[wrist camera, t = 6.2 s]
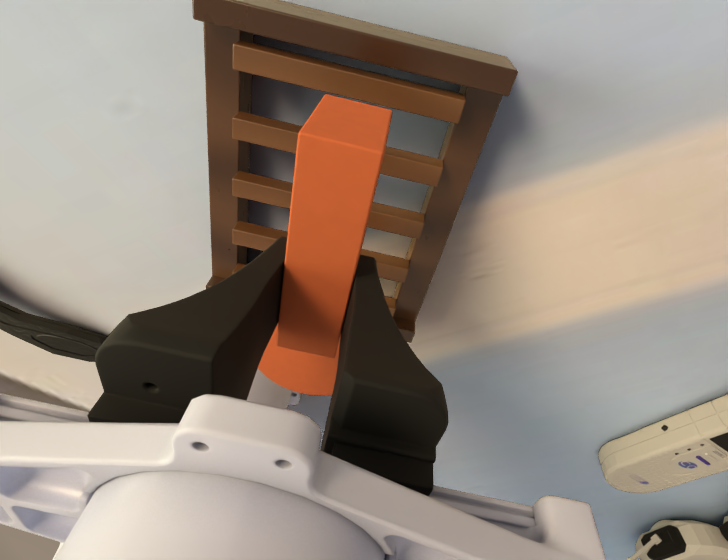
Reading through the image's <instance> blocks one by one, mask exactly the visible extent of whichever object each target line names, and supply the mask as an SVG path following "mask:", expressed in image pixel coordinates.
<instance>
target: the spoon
mask: <svg viewBox="0 0 728 560" xmlns="http://www.w3.org/2000/svg"><path fill="white" fill-rule="evenodd" d="M391 117H392V111H391V110H389V109H385V108H381V107H377V106H373V105H369V104H365V103H361V102H357V101H353V100H349V99H345V98H341V97H337V96H333V95H328V94H325V95H324V96H323V98H322V99H321V101H320V102H319V104H318V105H317V107H316V108H315V110H314V111H313V112H312V114H311V115H310V117H309V118H308V120H307V121H306V123H305V124H304V126H303V127H302V128H301V130H300V131H299V133H298V140H297V149H296V159H295V168H294V178H293V187H292V197H291V206H290V216H289V225H288V235H287V245H286V254H285V264H284V273H283V283H282V292H281V302H280V311H279V321H278V324H277V326H276V328H275V330H274V332H273V334H272V336H271V339H270V341H269V343H268V345H267V347H266V349H265V351H264V353H263V356H262V358H261V361H260V363H259V366H258V369H259V370H260V371H261V372H262V373H263V374H264V375H265V376H266V377H267V378H269V379H270V380H272V381H273V382H275V383H276V384H278V385H280V386H282V387H284V388H286V389H289V390H292V391H295V392H298V393H302V394H308V395H332V393H333V389H334V384H335V379H336V373H337V366H338V357H339V347H340V338H341V331H342V327H343V323H344V319H345V314H346V310H347V306H348V302H349V298H350V294H351V290H352V286H353V281H354V277H355V273H356V269H357V265H358V261H359V257H360V253H361V248H362V244H363V240H364V236H365V232H366V228H367V224H368V220H369V215H370V211H371V207H372V203H373V199H374V195H375V191H376V187H377V182H378V178H379V174H380V170H381V166H382V162H383V158H384V153H385V148H386V143H387V138H388V133H389V127H390V122H391Z"/></svg>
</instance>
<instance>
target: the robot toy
mask: <svg viewBox="0 0 728 560" xmlns="http://www.w3.org/2000/svg"><path fill="white" fill-rule="evenodd" d="M635 549H636V553H635V554H634V555H633V556H631V557H629V558H627V559H626V560H635V559H637V558H638V557H639V559H640V560H728V515H727V516H725V517H724V521H723V524H722V525H721V526H720V527H719V528H718V527H715V526H713V525H710V524H707V523H703V522H699V521H694V520H681V521H673V520H661V521H658V522H657V523H655V524H654V525H653V527H652V528H651V530H650V531H648V532H645V533H643V534H641V535H640V537H639V539H638V540H637V542H636V544H635Z"/></svg>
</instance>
